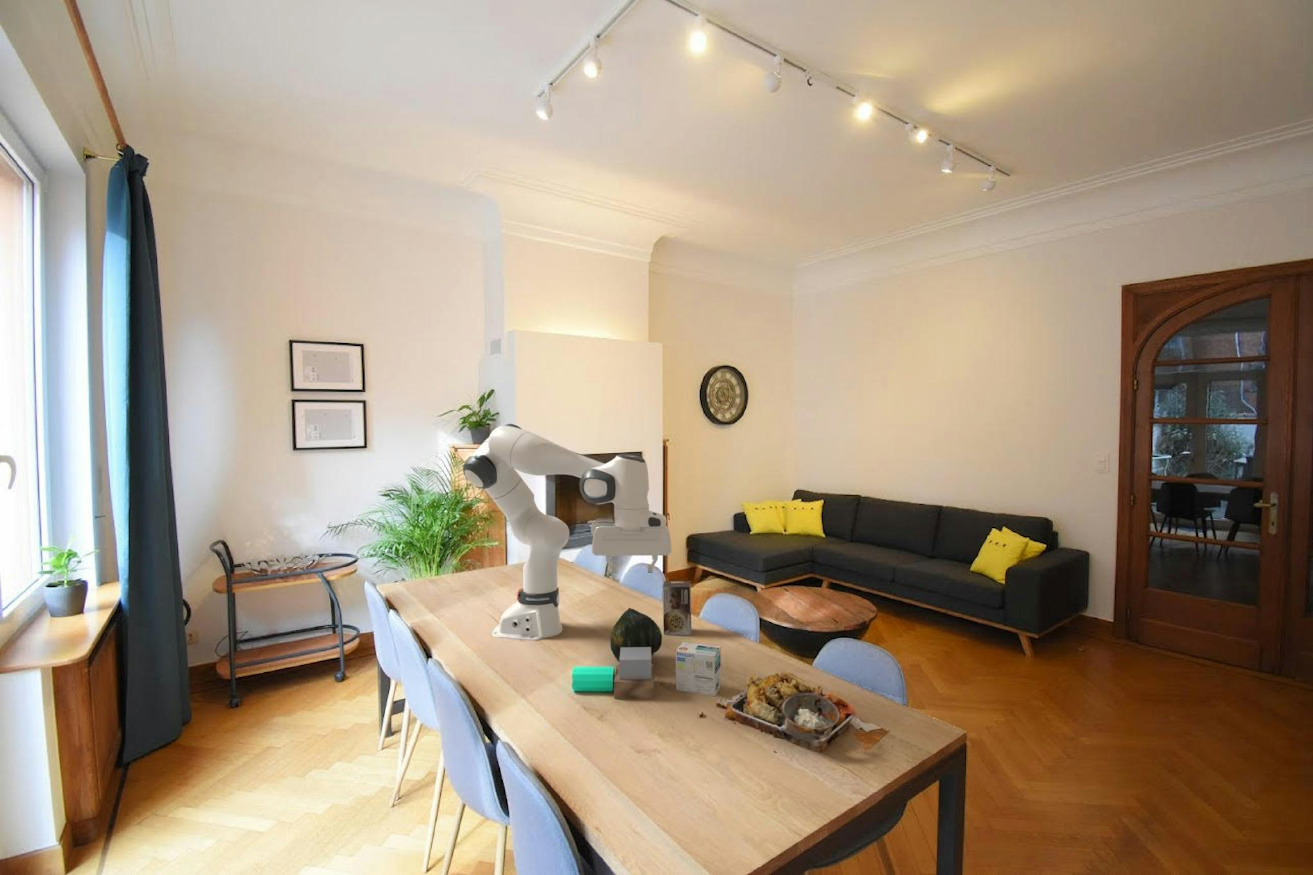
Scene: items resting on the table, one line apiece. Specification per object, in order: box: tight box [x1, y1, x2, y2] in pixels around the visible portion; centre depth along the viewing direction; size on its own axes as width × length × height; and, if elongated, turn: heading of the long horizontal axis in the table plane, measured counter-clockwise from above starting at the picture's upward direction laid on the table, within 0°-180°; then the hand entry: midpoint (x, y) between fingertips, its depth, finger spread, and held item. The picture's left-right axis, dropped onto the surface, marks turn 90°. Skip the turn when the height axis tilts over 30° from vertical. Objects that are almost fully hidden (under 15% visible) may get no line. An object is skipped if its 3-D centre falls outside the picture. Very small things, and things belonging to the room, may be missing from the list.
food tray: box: [698, 669, 890, 755], centre depth 133 cm, size 35×26×11 cm
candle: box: [571, 666, 616, 692], centre depth 150 cm, size 6×6×12 cm
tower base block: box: [613, 664, 655, 700], centre depth 150 cm, size 10×10×5 cm
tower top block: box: [618, 647, 652, 680], centre depth 150 cm, size 8×8×5 cm
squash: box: [609, 607, 663, 662], centre depth 166 cm, size 14×15×15 cm
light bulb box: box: [675, 641, 722, 697], centre depth 151 cm, size 11×7×11 cm, turn 71°
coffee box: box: [662, 580, 693, 636], centre depth 191 cm, size 9×6×16 cm
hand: (632, 572), depth 148 cm, fingers open, 8 cm apart
